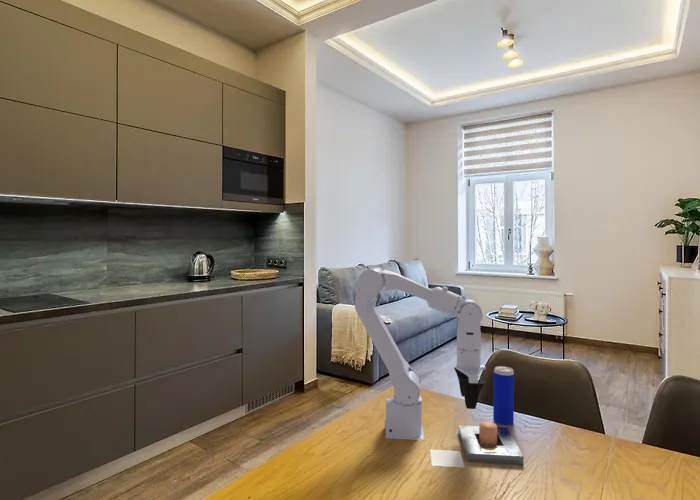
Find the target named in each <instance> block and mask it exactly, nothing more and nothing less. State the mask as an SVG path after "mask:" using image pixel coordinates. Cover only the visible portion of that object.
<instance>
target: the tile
mask: <svg viewBox="0 0 700 500" xmlns="http://www.w3.org/2000/svg"><path fill="white" fill-rule="evenodd" d="M429 455H430V461H431V466H433V467H446V468H447V467H448V468H460V469H461V468H464V469H465V463H464V460H463V457H462V453H461V451H460V450H445V449H430V448H429Z"/></svg>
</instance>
